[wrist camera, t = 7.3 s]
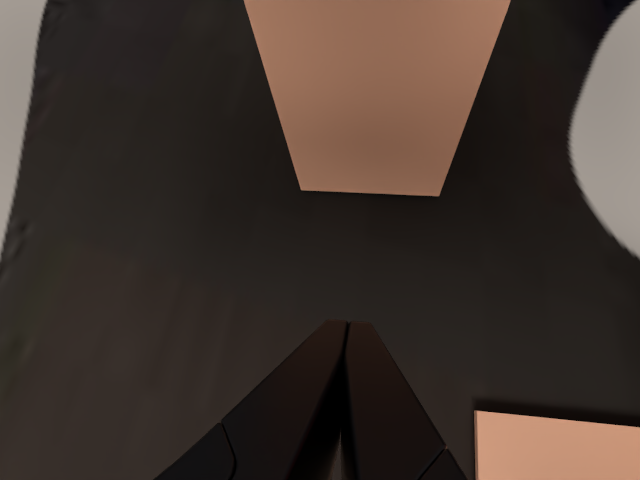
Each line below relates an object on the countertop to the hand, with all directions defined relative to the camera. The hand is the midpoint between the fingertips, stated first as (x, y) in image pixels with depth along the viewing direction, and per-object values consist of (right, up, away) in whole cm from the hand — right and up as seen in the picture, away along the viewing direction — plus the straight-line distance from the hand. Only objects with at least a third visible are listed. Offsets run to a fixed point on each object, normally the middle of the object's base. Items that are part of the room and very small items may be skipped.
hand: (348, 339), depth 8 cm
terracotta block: (+2, +7, +12) cm, 14 cm away
